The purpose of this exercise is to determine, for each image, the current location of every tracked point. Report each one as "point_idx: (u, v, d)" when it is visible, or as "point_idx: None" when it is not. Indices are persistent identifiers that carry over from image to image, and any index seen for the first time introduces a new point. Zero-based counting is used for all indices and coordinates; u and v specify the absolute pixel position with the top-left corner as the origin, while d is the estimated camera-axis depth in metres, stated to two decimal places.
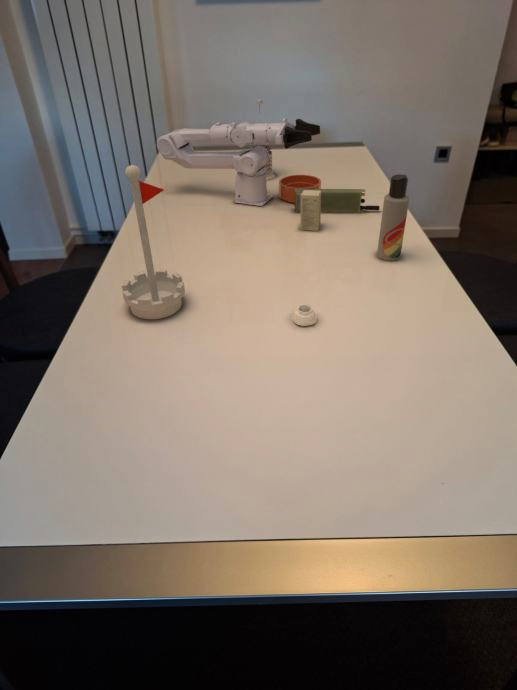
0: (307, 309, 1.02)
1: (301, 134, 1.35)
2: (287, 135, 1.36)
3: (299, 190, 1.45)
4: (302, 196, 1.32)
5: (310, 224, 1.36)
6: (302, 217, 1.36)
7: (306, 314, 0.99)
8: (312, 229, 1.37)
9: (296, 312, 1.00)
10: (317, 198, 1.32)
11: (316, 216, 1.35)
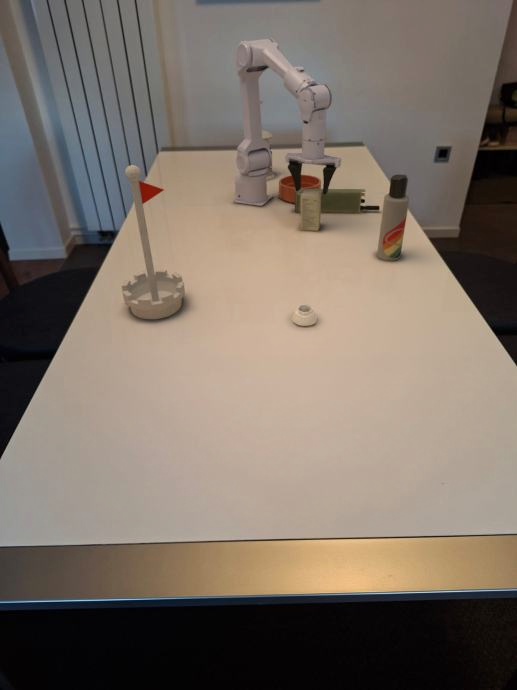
0: (307, 309, 1.02)
1: None
2: None
3: (299, 190, 1.45)
4: (302, 196, 1.32)
5: (310, 224, 1.36)
6: (302, 217, 1.36)
7: (306, 314, 0.99)
8: (312, 229, 1.37)
9: (296, 312, 1.00)
10: (317, 198, 1.32)
11: (316, 216, 1.35)
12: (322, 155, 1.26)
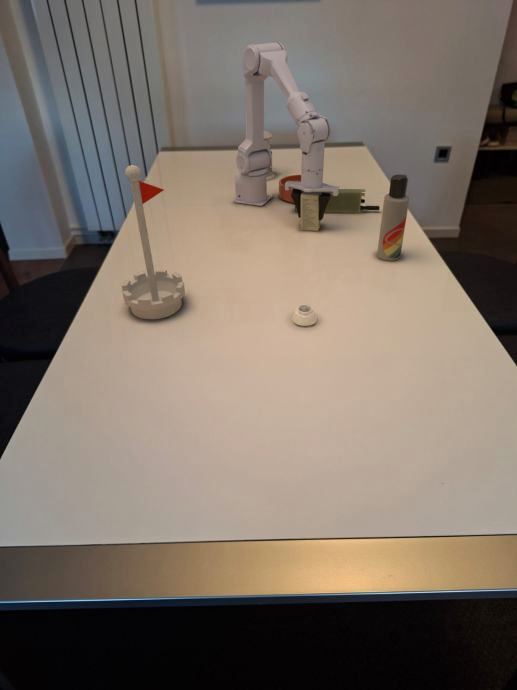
0: (307, 309, 1.02)
1: None
2: None
3: None
4: (302, 196, 1.32)
5: (310, 224, 1.36)
6: (302, 217, 1.36)
7: (306, 314, 0.99)
8: (312, 229, 1.37)
9: (296, 312, 1.00)
10: (317, 198, 1.32)
11: (316, 216, 1.35)
12: (321, 184, 1.30)
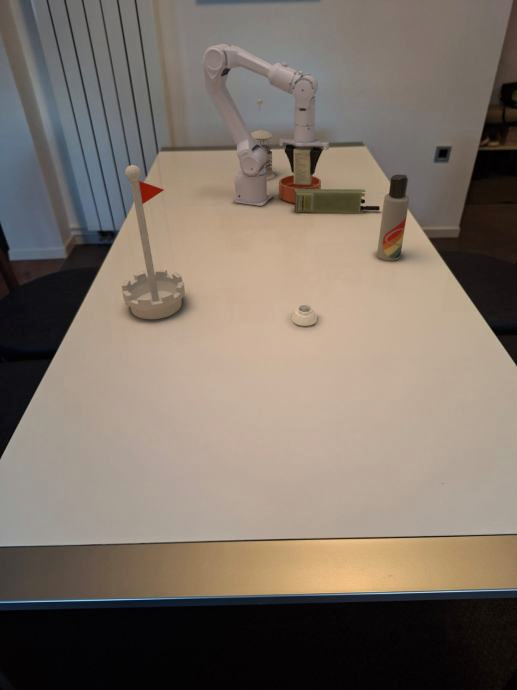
0: (307, 309, 1.02)
1: None
2: None
3: (299, 190, 1.45)
4: (295, 151, 1.42)
5: (303, 178, 1.46)
6: (295, 171, 1.46)
7: (306, 314, 0.99)
8: (304, 183, 1.47)
9: (296, 312, 1.00)
10: (309, 152, 1.42)
11: (308, 170, 1.45)
12: (312, 139, 1.40)
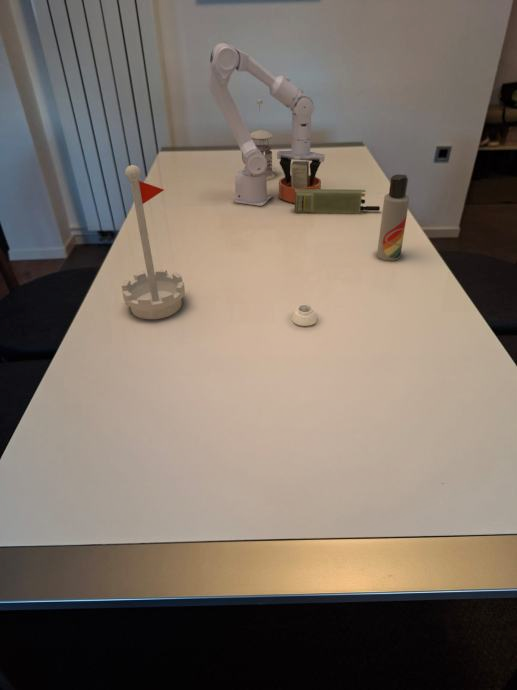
0: (307, 309, 1.02)
1: None
2: None
3: (299, 190, 1.45)
4: (293, 166, 1.52)
5: None
6: (293, 185, 1.55)
7: (306, 314, 0.99)
8: None
9: (296, 312, 1.00)
10: (306, 167, 1.51)
11: (305, 184, 1.54)
12: (308, 152, 1.49)
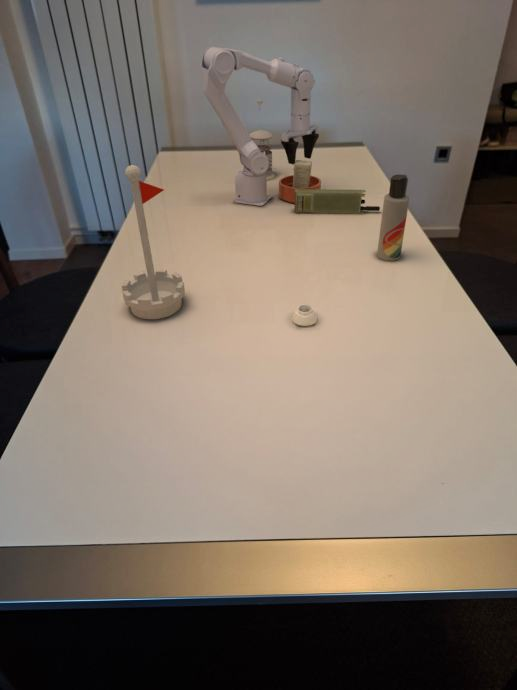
0: (307, 309, 1.02)
1: (292, 155, 1.51)
2: None
3: (299, 191, 1.45)
4: (296, 165, 1.51)
5: None
6: (294, 184, 1.55)
7: (306, 314, 0.99)
8: None
9: (296, 312, 1.00)
10: (309, 167, 1.51)
11: (306, 184, 1.54)
12: None
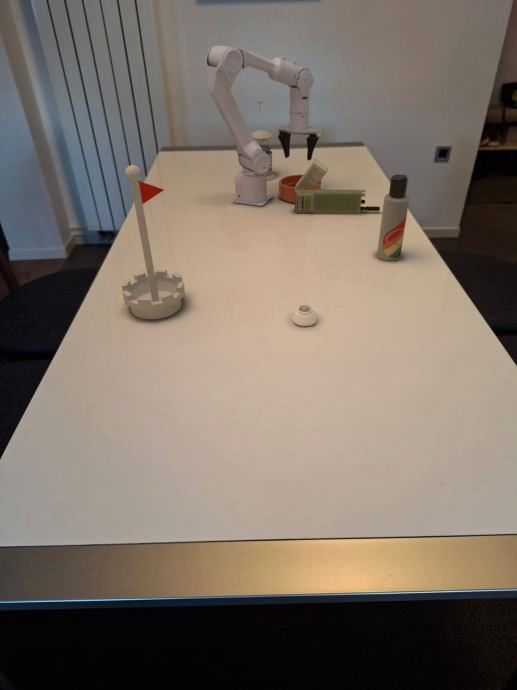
0: (307, 309, 1.02)
1: (312, 150, 1.55)
2: None
3: (299, 191, 1.45)
4: (314, 164, 1.50)
5: None
6: (303, 179, 1.53)
7: (306, 314, 0.99)
8: None
9: (296, 312, 1.00)
10: (324, 173, 1.51)
11: None
12: None
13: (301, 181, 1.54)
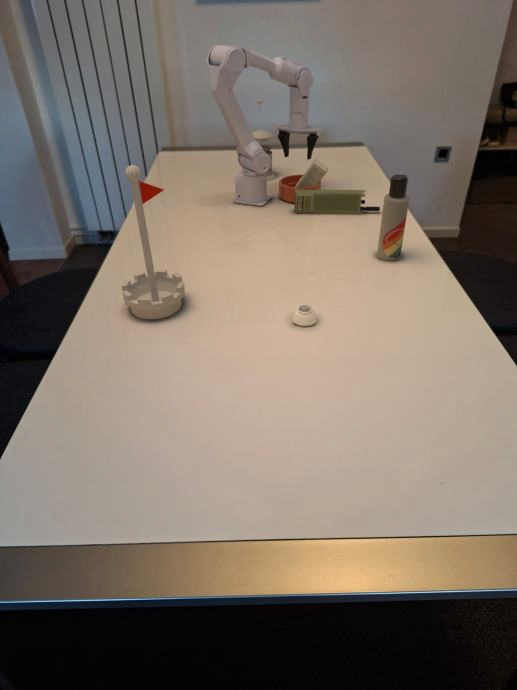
0: (307, 309, 1.02)
1: (311, 149, 1.56)
2: None
3: (299, 191, 1.45)
4: (314, 164, 1.50)
5: None
6: (303, 179, 1.53)
7: (306, 314, 0.99)
8: None
9: (296, 312, 1.00)
10: (324, 173, 1.51)
11: None
12: None
13: (301, 181, 1.54)
